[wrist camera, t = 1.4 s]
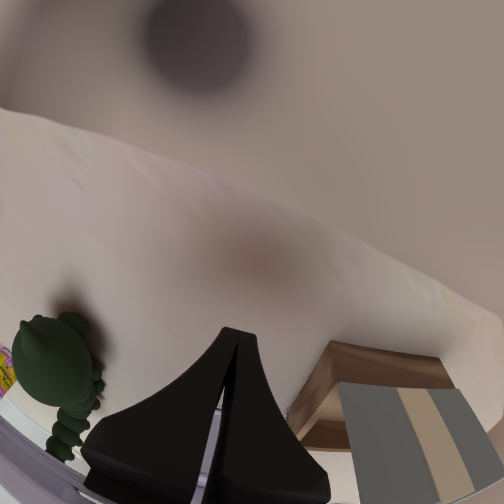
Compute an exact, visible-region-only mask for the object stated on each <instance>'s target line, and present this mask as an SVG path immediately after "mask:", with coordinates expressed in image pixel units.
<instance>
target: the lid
mask: <svg viewBox="0 0 504 504" xmlns="http://www.w3.org/2000/svg"><path fill="white" fill-rule="evenodd" d="M337 389H338V393H339V397H340V402H341V406H342V410H343V415H344V419H345V424H346V429H347V433H348V438H349V443H350V448H351V453H352V458H353V463H354V469H355V474H356V480H357V485H358V491H359V497H360V504H435V503H438V502H442V503H443V504H456V503H458V502H460V501H463V500H465V499H467V498H469V497H471V496H473V495H475V494H477V493H479V492H481V491H483V490H485V489H487V488H489V487H490V486H492V485H494V484H496V483H497V482H499V481H500V480H502V479H504V466H503V464H502V462H501V460H500V458H499V456H498V454H497V452H496V450H495V448H494V447H493V445H492V443H491V441H490V439H489V437H488V436H487V434H486V432H485V430H484V429H483V427H482V425H481V423H480V422H479V420H478V418H477V417H476V415H475V413H474V412H473V410H472V409H471V407H470V405H469V404H468V402H467V401H466V399H465V398H464V396H463V395H462V393H461V391H460V390H459V389H423V388H402V387H388V386H377V385H367V384H358V383H350V382H342V381H340V383H339V384H338V386H337Z"/></svg>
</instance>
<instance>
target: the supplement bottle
mask: <svg viewBox="0 0 504 504" xmlns="http://www.w3.org/2000/svg"><path fill="white" fill-rule="evenodd" d="M11 355H12V354H11V352H9V351H8V350H7V349H4V348H3V349H1V350H0V400H1V398H2V397H3V396H4V395H5V394H6V392H7V391H8V390H9V389H10V388H11V386H12V385H13V384H14V383H15V382H16V381H17V378H16V375H15V373H14V370H13V366H12V356H11Z"/></svg>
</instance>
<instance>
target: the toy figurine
mask: <svg viewBox="0 0 504 504" xmlns="http://www.w3.org/2000/svg"><path fill="white" fill-rule="evenodd" d="M89 334H90V328H89V326H88V323H87V322H86V321H85V320H84V319H83V318H82V317H80V316H79V315H77V314H75V313H72V312H67V311H65V312H63V313H61V314H60V315H59V316H58V318H57V319H54V318H49V317H43V316H42V315H35V316H34V317H33V319H32V320H31V321H29V322H26V321H24V320H22V321H21V322H20V330H19V331H18V332H17V334H16V336H15V339H14V342H13V345H12V355H11V356H12V366H13V370H14V373H15V375H16V378H17V380H18V382H19V383H20V385H21V386H22V388H23V389H24V390H25V391H26V392H27V393H28V394H29V395H30V396H31V397H32V398H34V399H36V400H37V401H39V402H41V403H43V404H46V405H49V406H54V407H60V408H59V410H58V412H57V420H58V421H56V422H55V423H54V425H53V427H52V434H53V435H52V436H50V437H49V438H48V439H47V442H46V448H47V449H46V450H45V451H46V452H47V453H49V454H50V455H51V456H53V457H54V458H56V459H58V460H59V461H61V462H62V463H64V464H65V461H66V460H69V461H72V460H74V458H75V457H74V454H73V453H72V447H74V446H76V445H77V446H78V447H81V446H82V445H83V441H82V440H81V439H80V435H79V434H80V433H82V432H83V431H84V430H88V429H90V423H89V422H88V421H87V417H88V416H89V415H90V414H91V412H92V410H98V409H99V408H100V405H101V404H100V401H99V400H98V399H97V398H96V394H100V393H101V392H103V390H104V384H103V383H102V381H101V380H99V379H100V378H101V376H102V369H101V367H100V365H99V364H97V363H95V362H93V361H91V357H90V354H89V351H88V348H87V346H86V344H85V343H84V341H86V340H87V339H88V337H89Z"/></svg>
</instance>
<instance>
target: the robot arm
mask: <svg viewBox="0 0 504 504" xmlns="http://www.w3.org/2000/svg"><path fill="white" fill-rule="evenodd" d="M224 386H225V388H224ZM223 389H224V396H223V403H222V411H220V410H216V408H217V405H218V402H219V400H220V397H221V394H222V391H223ZM80 452H81V454H82V456H83V458H84V459H85V461H86V462H87V463H88V465H89V466H90V467H91V469H90V471H89V473H88V475H87V477H86V476H84V475H82V474H81V473H79V472H77V471H75V470H73V469H72V468H70V467H69V466H67V465H65V464H64V463H62V462H61V461H59V460H58V459H56V458H54V457H53V456H51V455H50V454H49V453H47V452H46V451H44V450H43V449H41V448H40V447H39V446H37V445H36V444H35V443H33V442H32V441H31V440H29V439H28V438H27V437H25V436H24V435H23V434H22V433H20V432H19V431H18V430H17V429H15V428H14V427H13V426H12V425H11V424H10V423H9V422H7V421H6V420H5V419H4V418H3V417H2V416H1V415H0V486H1V487H2V488H3V489H4V490H6V491H7V492H8V493H9V494H10V495H11V496H12V497H13V498H14V499H15V500H16V501H17V502H19V503H20V504H96V503H94V502H92V501H90V500H88V499H87V498H85V497H83V496H82V495H80V493H79V491H80V492H82V493H84V494H86V495H88V496H90V497H91V498H93V499H95V500H98V501H99V502H101V503H103V504H326V503H328V502H329V501H330V499H331V489H330V483H329V479H328V474H327V472H326V471H325V470H324V469H323V468H322V467H321V466H320V465H319V464H318V463H317V462H316V461H315V460H314V459H313V457H312V456H311V455H310V454H309V453H308V452H307V450H306V449H305V448H304V447H303V445H302V444H301V443H300V441H299V440H298V439H297V437H296V436H295V434H294V433H293V431H292V430H291V428H290V427H289V425H288V424H287V422H286V420H285V419H284V417H283V415H282V413H281V411H280V409H279V407H278V405H277V404H276V401H275V399H274V397H273V395H272V392H271V390H270V387H269V385H268V382H267V379H266V376H265V373H264V370H263V367H262V363H261V359H260V355H259V351H258V345H257V337H256V335H255V334H252V333H248V332H244V331H240V330H236V329H232V328H229V327H223V328H222V329H221V331H220V333H219V335H218V336H217V338H216V339H215V340H214V342H213V343H212V344H211V346H210V347H209V348H208V349H207V350H206V351H205V353H204V354H203V355H202V356H201V357H200V358H199V359H198V360H197V361H196V362H195V363H194V364H193V365H192V366H191V367H190V368H189V369H188V370H186V371H185V372H184V373H183V374H182V375H181V376H179V377H178V378H177V379H176V380H174V381H173V382H172V383H170V384H169V385H167V386H166V387H165V388H163V389H162V390H160V391H159V392H157V393H155V394H154V395H152V396H150V397H149V398H147V399H145V400H143V401H141V402H139V403H137V404H135V405H133V406H131V407H129V408H127V409H125V410H122V411H120V412H117V413H115V414H112V415H110V416H107V417H104V418H102V419H101V420H100V421H99V422H98V423H97V424H96V425H95V427H94V428H93V429H92V430H91V432H90V433H89V434H88V436H87V438H86V440H85V442H84V443H83V445H82V447H81V449H80ZM78 490H79V491H78ZM435 504H443V503H442V502H438V503H435Z"/></svg>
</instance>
